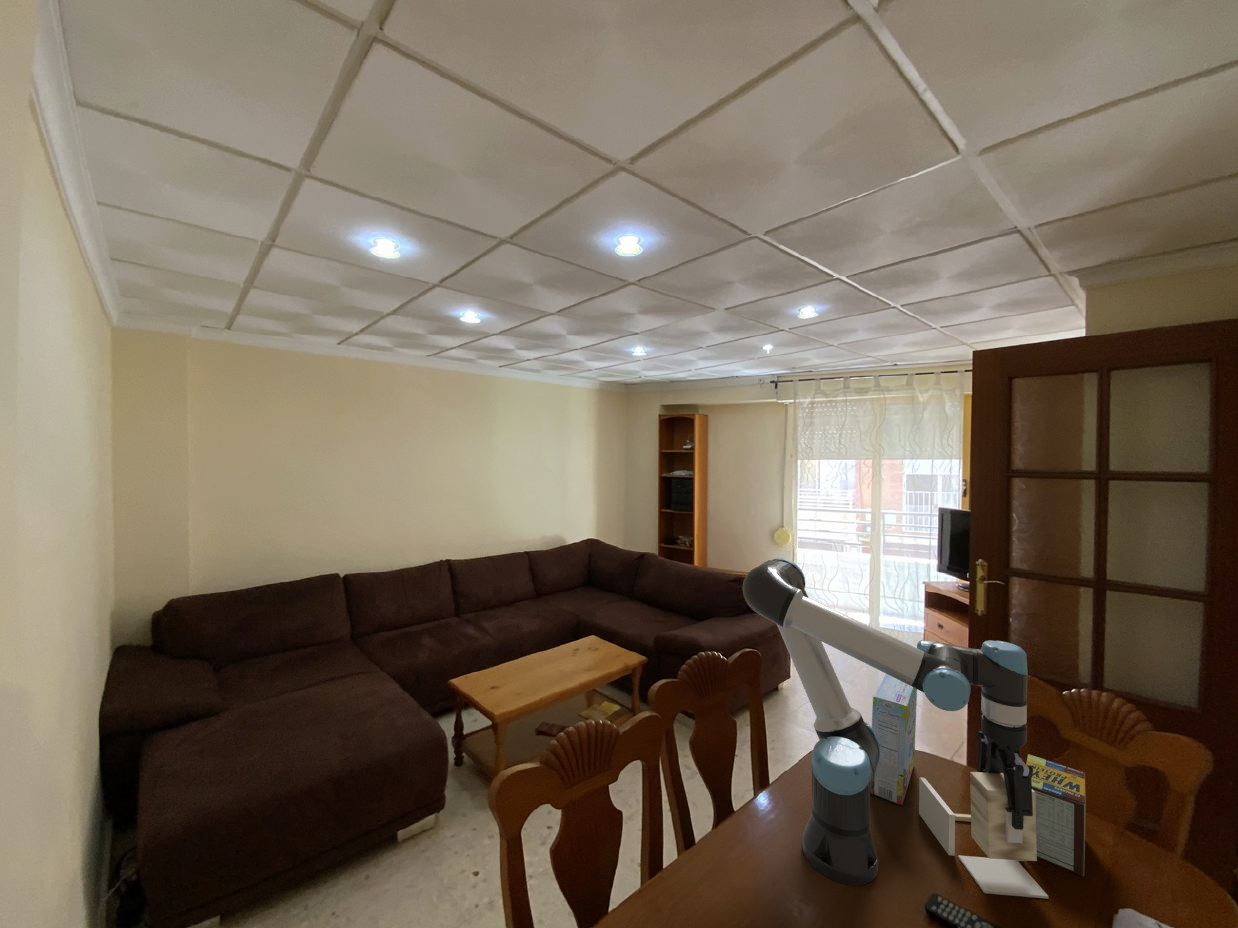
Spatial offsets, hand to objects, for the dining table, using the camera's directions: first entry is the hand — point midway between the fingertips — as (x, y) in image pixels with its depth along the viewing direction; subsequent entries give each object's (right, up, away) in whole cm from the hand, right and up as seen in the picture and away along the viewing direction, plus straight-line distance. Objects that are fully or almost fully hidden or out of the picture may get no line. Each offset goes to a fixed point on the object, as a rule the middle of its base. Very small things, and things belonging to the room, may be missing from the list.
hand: (1002, 828), depth 104 cm
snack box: (-5, -10, +32) cm, 34 cm away
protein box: (+19, -11, +9) cm, 23 cm away
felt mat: (0, -10, 0) cm, 10 cm away
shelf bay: (+1, -10, +12) cm, 15 cm away
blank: (0, -4, 0) cm, 4 cm away
